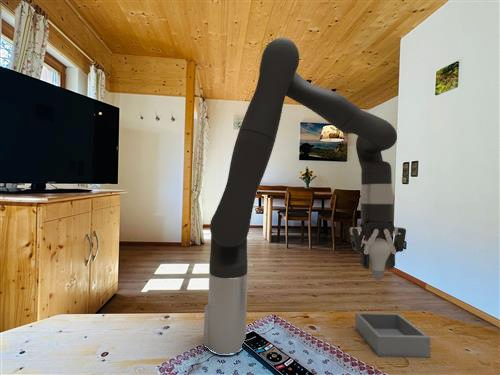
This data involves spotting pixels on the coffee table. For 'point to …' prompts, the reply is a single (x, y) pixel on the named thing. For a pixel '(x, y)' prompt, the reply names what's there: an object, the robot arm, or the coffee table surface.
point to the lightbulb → (378, 257)
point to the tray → (392, 335)
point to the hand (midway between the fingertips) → (377, 268)
